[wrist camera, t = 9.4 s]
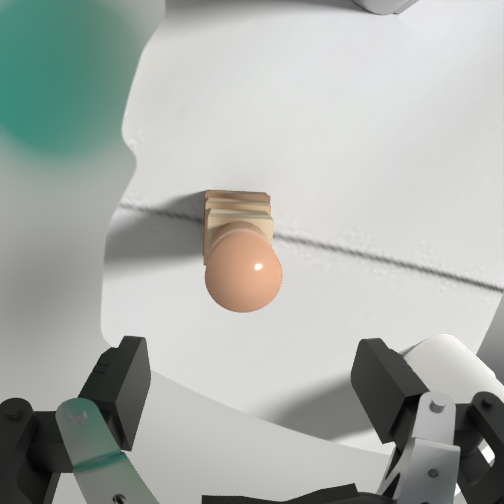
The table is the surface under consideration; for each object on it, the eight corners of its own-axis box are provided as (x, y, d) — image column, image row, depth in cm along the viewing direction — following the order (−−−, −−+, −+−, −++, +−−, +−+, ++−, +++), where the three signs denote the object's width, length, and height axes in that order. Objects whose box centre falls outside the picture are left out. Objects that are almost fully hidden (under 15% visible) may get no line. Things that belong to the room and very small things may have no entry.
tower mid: (264, 200, 33) (270, 206, 28) (260, 253, 35) (265, 268, 30) (209, 197, 32) (205, 202, 28) (206, 251, 34) (203, 265, 29)
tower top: (265, 210, 28) (273, 220, 23) (261, 262, 30) (268, 281, 25) (211, 207, 28) (208, 216, 23) (209, 260, 29) (206, 278, 24)
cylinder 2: (366, 404, 50) (419, 505, 26) (422, 323, 45) (512, 413, 21) (425, 411, 53) (476, 487, 29) (473, 343, 49) (546, 411, 25)
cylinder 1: (270, 221, 23) (284, 240, 18) (267, 278, 25) (279, 312, 19) (210, 220, 23) (204, 239, 17) (210, 277, 24) (205, 312, 19)
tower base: (264, 192, 38) (270, 196, 33) (260, 247, 40) (265, 258, 35) (208, 189, 37) (205, 193, 32) (206, 244, 39) (203, 256, 34)
